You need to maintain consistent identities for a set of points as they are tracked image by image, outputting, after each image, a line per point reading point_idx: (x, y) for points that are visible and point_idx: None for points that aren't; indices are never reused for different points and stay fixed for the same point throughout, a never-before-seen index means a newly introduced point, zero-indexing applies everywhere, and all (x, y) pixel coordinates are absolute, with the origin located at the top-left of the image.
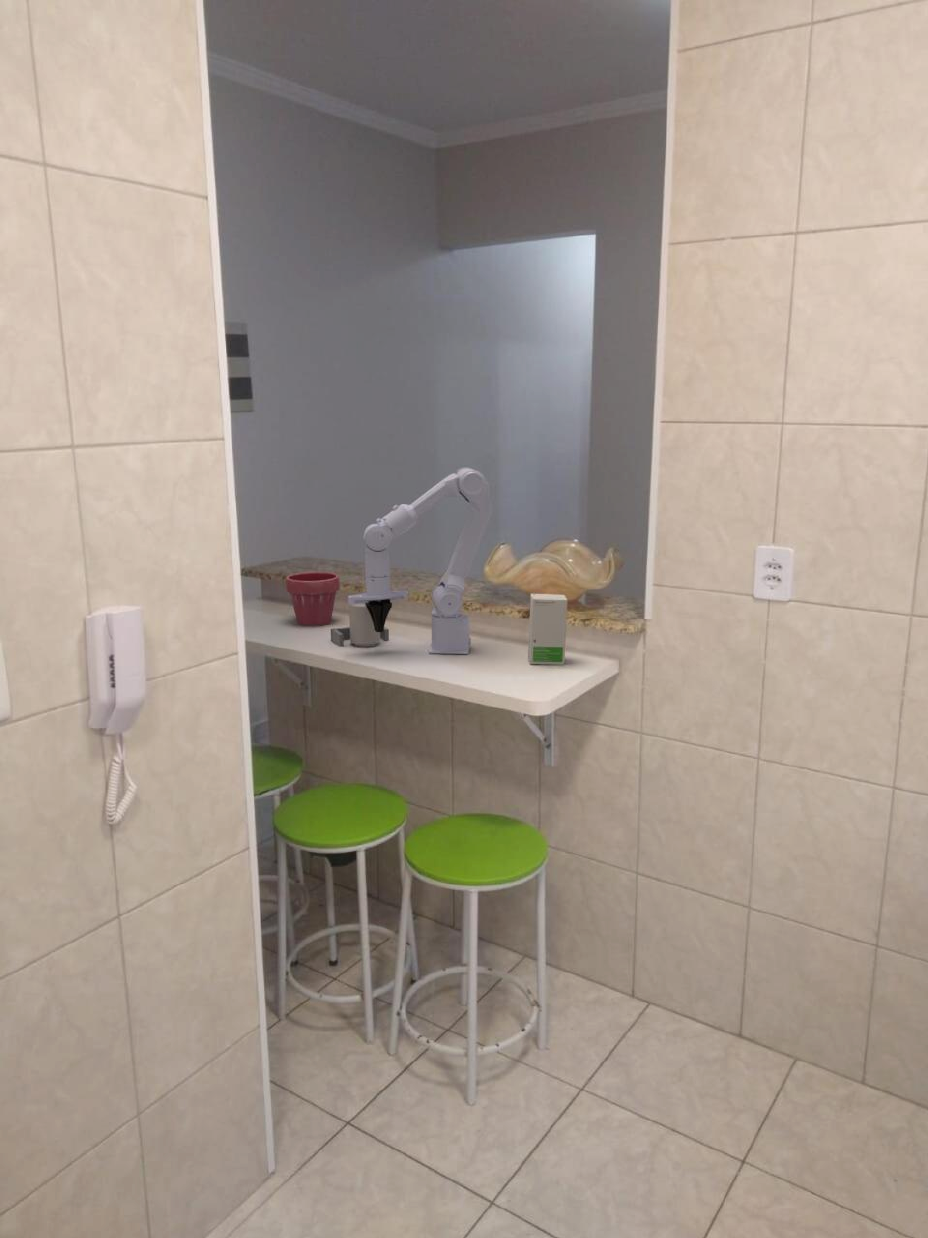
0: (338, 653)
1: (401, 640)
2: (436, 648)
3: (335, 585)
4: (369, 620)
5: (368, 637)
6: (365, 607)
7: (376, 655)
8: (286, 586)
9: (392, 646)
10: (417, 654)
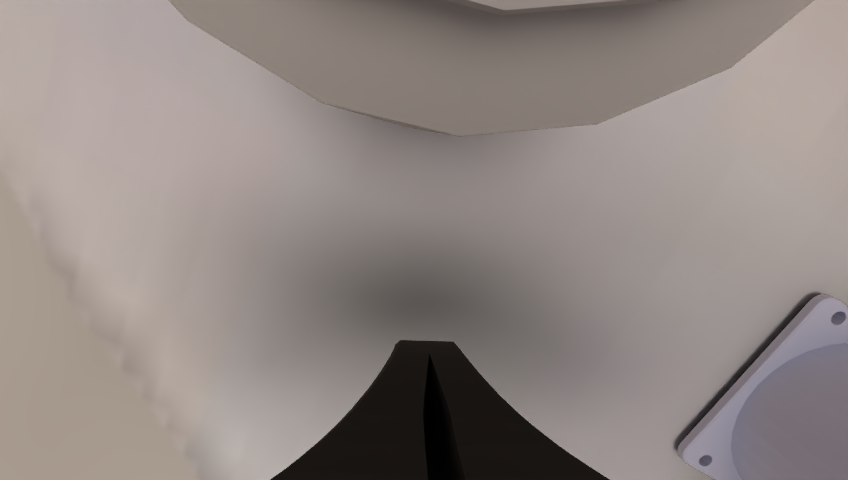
0: (142, 172)
1: None
2: (742, 466)
3: None
4: (428, 130)
5: (409, 126)
6: (342, 107)
7: (376, 338)
8: None
9: (580, 179)
10: (610, 424)
